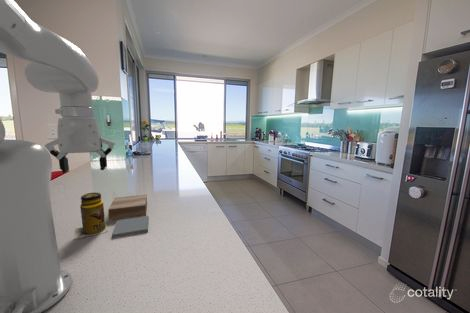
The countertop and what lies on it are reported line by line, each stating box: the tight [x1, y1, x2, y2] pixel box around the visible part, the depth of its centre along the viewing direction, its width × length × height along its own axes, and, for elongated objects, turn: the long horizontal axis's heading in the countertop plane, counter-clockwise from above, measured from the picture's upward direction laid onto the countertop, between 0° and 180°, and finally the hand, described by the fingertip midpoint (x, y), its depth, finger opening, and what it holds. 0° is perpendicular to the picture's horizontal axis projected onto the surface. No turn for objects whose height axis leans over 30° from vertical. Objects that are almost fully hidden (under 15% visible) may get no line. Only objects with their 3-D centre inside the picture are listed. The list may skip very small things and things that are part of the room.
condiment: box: [74, 192, 108, 240], centre depth 67 cm, size 7×8×12 cm
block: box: [108, 194, 148, 221], centre depth 82 cm, size 12×12×4 cm
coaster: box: [111, 215, 150, 238], centre depth 70 cm, size 10×10×1 cm
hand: (84, 170), depth 64 cm, fingers open, 9 cm apart
